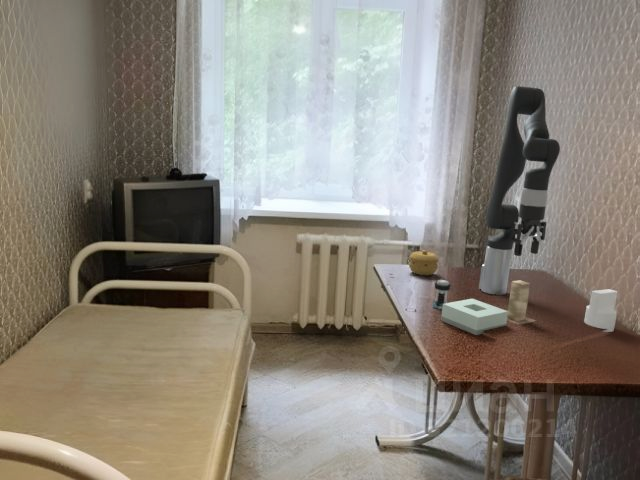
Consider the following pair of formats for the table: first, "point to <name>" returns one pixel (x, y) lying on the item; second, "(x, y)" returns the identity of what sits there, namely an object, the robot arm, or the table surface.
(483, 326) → the socket block
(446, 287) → the push button
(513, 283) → the pin
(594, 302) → the cylinder with rectangular tab
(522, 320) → the coaster
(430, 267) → the pot
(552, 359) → the table surface
